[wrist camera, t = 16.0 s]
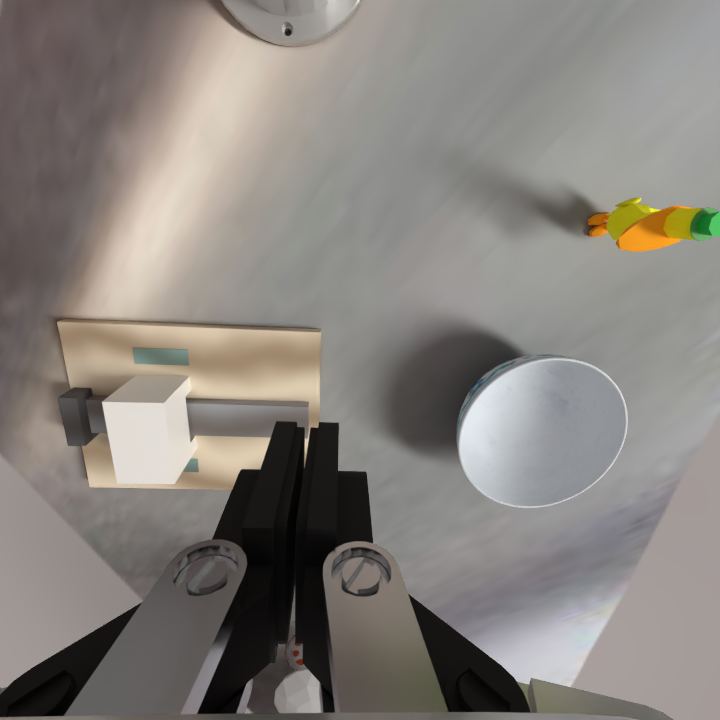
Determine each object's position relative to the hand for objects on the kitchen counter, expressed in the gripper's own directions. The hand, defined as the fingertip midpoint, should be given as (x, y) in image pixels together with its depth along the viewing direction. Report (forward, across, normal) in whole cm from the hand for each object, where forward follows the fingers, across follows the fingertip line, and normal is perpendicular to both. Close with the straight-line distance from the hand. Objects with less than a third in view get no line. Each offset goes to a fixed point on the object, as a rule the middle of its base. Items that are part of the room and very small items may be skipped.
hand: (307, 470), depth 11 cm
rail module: (+28, +16, +13) cm, 35 cm away
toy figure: (+29, -24, -7) cm, 39 cm away
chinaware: (+29, -19, +11) cm, 37 cm away
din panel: (+29, +13, +13) cm, 34 cm away
